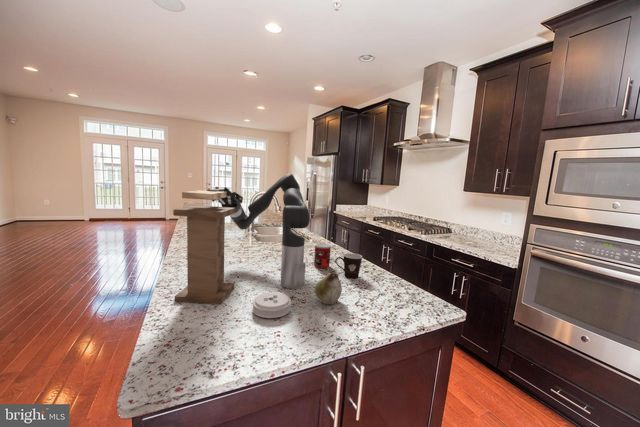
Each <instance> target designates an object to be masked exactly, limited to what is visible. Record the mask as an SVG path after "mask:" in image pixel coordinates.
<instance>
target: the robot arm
mask: <svg viewBox="0 0 640 427" xmlns="http://www.w3.org/2000/svg"><path fill="white" fill-rule="evenodd" d="M223 188H224V192H227V197H225V198H220V199H215V200H211V202H216V201H217V202H218V203H219V204H220V206H221V207H231V208H235V213H234V214H231V215H229V217H230V219H231V220H232V221H233V223H234V224H235V225H236V226H237V227H238V228H239V229H240V230H246V229H248V228H249V227H250V226H251V225H252V223H253V222H254V221H255V220H256V218H257V217H258V216H260V214H262V213H263V212H265V211H266V210H268V208H269V207H270V206H271V203H272V201H273V199H274V197H275V194H276V193H277V191H278V190H279V189H281V190H282V192H283V196H282V197H283V198H282V199H283V200H282V201H283V205H284V206H283V209H282V215H281V216H282V239H281V257H280V258H281V261H280V262H281V264H280V265H281V266H280V286H281V287H283V288H287V289H294V290H297V289H299V288H301V287H303V286H304V285H305V284H306V283H305V280H306V262H304V261H305V260H304V259H305V242H306V241H305V238H304V237H303V236H301V235H298V234H296V233H295V232H293V231H292V230H291V229H306V228H307V227H308V226H309V225H310V221H311V220H310V219H311V218H310V217H311V216H310V212H309V209H308V207H307V205H306V203H305V202H304V198H303V194H302V192H301V188H300V184H299V183H298V181H297V179H296V178H295V176H294V175H293V173H287V174H284V175H283V176H281V177H280V178H279V179H278V180H277V181H276V182H275V183H274V184H273V185H271V186H270V187H269V188H268V189H267V190H266V192H264V193H263V194H262V195H261V196H260V197H258V198H257V199H255V200H254V201H253V202H252V203H250V204H249V205H248V206H247V209H248V211H249V215H247V214H246V212H245V210H244V208H243V206H242V203H243V202H244V200H243V199H244V197H243V196H241V195H240V194H239V193H237V192H236V191H233V192H232V191H231V190H230V189H229V188H228V187H227V186H226V187H223ZM214 189H220V188H219V186H215V187H214Z"/></svg>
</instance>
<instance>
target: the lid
mask: <svg viewBox="0 0 640 427" xmlns="http://www.w3.org/2000/svg"><path fill="white" fill-rule="evenodd" d="M291 303H292V300H291V298H290V297H289V296H288V295H286V294H284V293H282V292H279V291H278V292H277V291H269V292H263V293H260V294H258V295H257V296H255V297H254V298H253V300H252V308H251V309H252V312H253V314H254V315H256V316H258V317H260V318H263V319H264V318H265V319H276V318H281V317H283V316H286V315H287V314H289V313H290V311H291V309H292V308H291Z"/></svg>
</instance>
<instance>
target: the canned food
mask: <svg viewBox="0 0 640 427" xmlns="http://www.w3.org/2000/svg"><path fill="white" fill-rule="evenodd" d="M331 249H332V248H331V244H327V243H316V244H314V256H313V257H314V259H313V260H314V261H313V265H314V267H315V268H318V269H327V268H329V267H330V263H331V262H330V259H331Z"/></svg>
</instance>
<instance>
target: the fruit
mask: <svg viewBox="0 0 640 427" xmlns="http://www.w3.org/2000/svg"><path fill="white" fill-rule="evenodd" d="M342 291H343V287H342V283H341V280H340V278H339V275H338V274H336V273H335V272H329V273H327V275H325V276H324V277H322V278H321V279H320V280H318V282H317V283H316V284H315V287H314V293H315V296H316V299H318V301H319V302H321V303H323V304H324V305H333V304H335V303H336V302H338V300H339V299H340V298H341V296H342Z"/></svg>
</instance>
